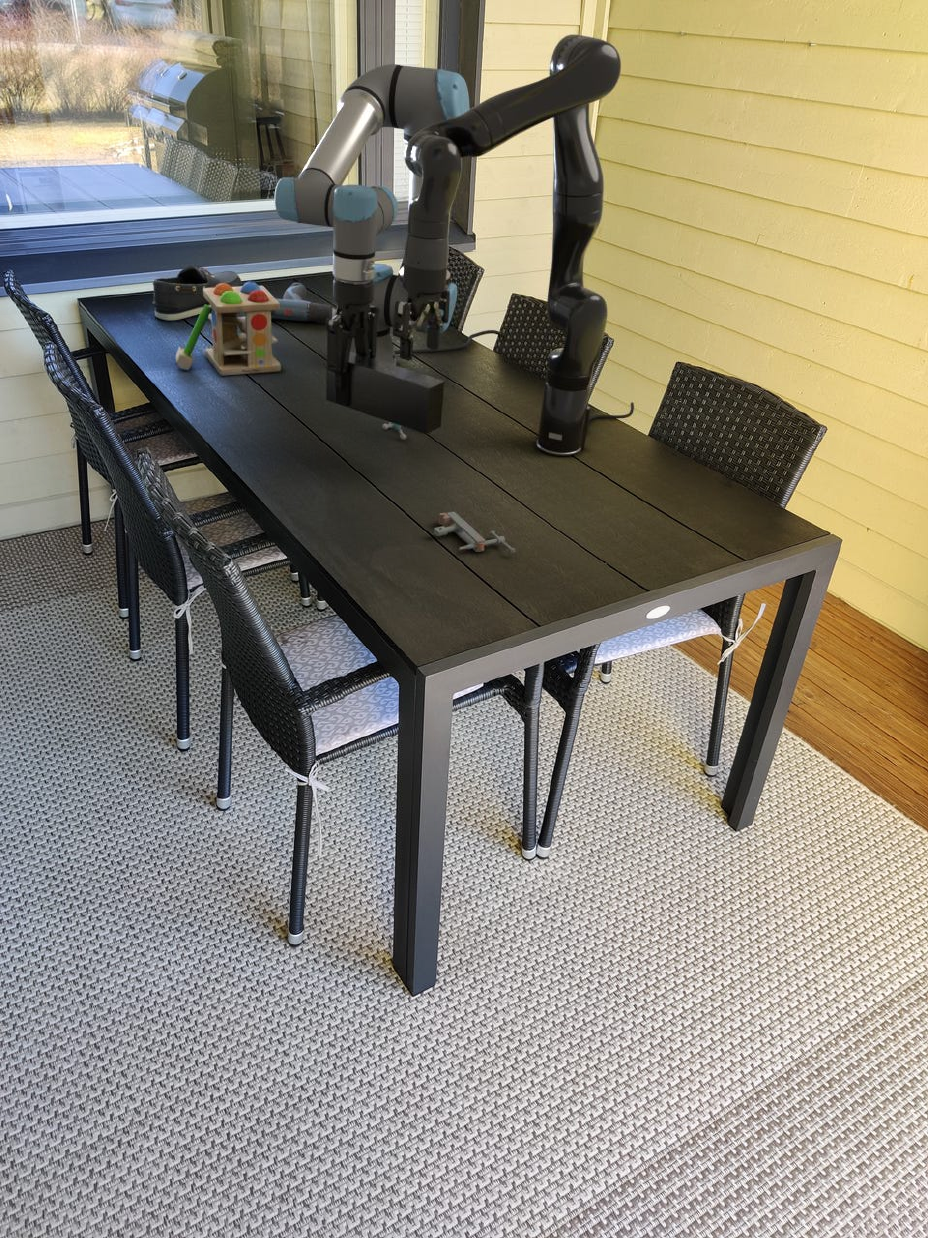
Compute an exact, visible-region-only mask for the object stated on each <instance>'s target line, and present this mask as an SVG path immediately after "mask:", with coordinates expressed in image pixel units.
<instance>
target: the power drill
mask: <svg viewBox="0 0 928 1238" xmlns="http://www.w3.org/2000/svg"><path fill="white" fill-rule="evenodd" d="M307 295H308V290H307V287H306V285H304V284H303V283H301V282H293V283H292V284H291V285H290V286H289V287H288V288H287V289H286V291H285V292H284V294H283V297H282V298H275V299H276V300H277V301H278V302H279V303H280V310H271V319H274V320H275V319H276V320H283V321H294V322H295V321H297V322H325V321H326V319H333V318H334V317H335V316H336V310H337V309H336V308H334V307H333V306H332V305H331V304H324V303H317V302H313V301H307V300H305V299H306V297H307Z"/></svg>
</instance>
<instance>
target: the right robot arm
mask: <svg viewBox="0 0 928 1238" xmlns="http://www.w3.org/2000/svg"><path fill="white" fill-rule="evenodd" d="M621 71H622V61H621V57H620V54H619V52H618V50H617V48H616V47H615V46H614V45H613V44H611V43H610V42H609V41H607V40H604V39H601V38H597V37H592V36H587V35H583V34H567V35H565V36H563V37H562V38H560V40H559V41H558V42H557V43H556V45H555V47H554V49H553V51H552V53H551V57H550V62H549V76H546V77H545V78H542V79H540V80H537V81H535V82H532V83H529V84H525V85H521V86H518V87H515V88H511V89H509V90H505V91H503V92H501V93H498V94H495V95H493V96H491V97H488V98H486V100H483V101H482V102H480V103H478V104H476V105H475V106H474V107H472V108H469V110H468V111H467V112H465V113H464V114H462V115H460V116H457V117H454V118H451V119H447V120H445V121H442V122H439V123H436V124H433V125H431V126H428V127H426V128H424V129H422V130H420V131H419V132H417V133H416V134H415V135H414V136H413V137H412V138H411V139H410V140H409V142H408V143H407V144H406V145H405V148H404V154H403V155H404V156H403V157H404V163H405V165H406V167H407V168H408V170H409V172H410V171H411V172H412V173H413V174H415V175H416V176H418V177H421V178H423V180H422V186H421V190H420V195H418V196H415V197H413V198H412V199H411V201H410V204H409V203H408V206H409V212H407V228H406V230H407V231H406V239H405V243H404V256H403V266H404V270H403V287H404V289H406V291H407V292H408V296H407V300H406V302H400V301H397V302H396V303H395V312H394V323H393V327H392V336H394V337H397V338H399V339H400V340H399V341H400V342H399V350H400V354H399V358H400V359H402V360H404V361H408V362H409V361H411V360H412V359H413V354H414V353H413V350H414V337H415V335H416V332H417V331H416V330H418V329H420V327H421V325H422V323H424V322H425V321H426V320H427V322H428V325H429V326H430V327H428V333H426V335H427V336H426V347H427V349H433V350H436V349H438V348H440V345H439V344H440V337H441V334H440V329H442V327H443V324H444V323H448V320H449V303H450V291H448V290H445V289H446V277H447V270H448V265H449V263H448V262H449V250H450V249H449V247H450V245H449V233H450V220H451V209H452V207H453V204H454V202H455V198H456V194H457V192H458V187H459V185H460V181H461V177H462V172H463V171H462V170H463V158H479V157H481V156H484V155H486V154H489V152H491V151H493V150H494V149H497V148H498V147H499V146H501V145H503V144H505V143H506V142H508V141H509V140H511V139H513V138H515V137H517V136H518V135H520V134H522V133H524V132H525V131H528V130H529V129H531V128H534V127H535V126H537V125H540V124H542V123H544V122H546V121H549V120H550V119H552V127H553V128H552V129H553V176H552V177H553V180H552V239H551V241H552V243H551V244H552V245H551V263H550V264H551V265H550V274H549V283H548V292H547V302H546V312H547V318H548V320H549V322H550V324H551V325H552V326H553V327H554V328H555V329H557V330H558V331H560V332H562V333H563V334H566V336H565V340H564V345H563V347H561V348H556V349H553V350H552V351H550V352H549V354H548V359H547V367H546V375H545V381H544V388H543V389H544V390H543V397H542V403H541V410H540V412H541V413H540V419H539V425H538V432H537V439H536V444H535V445H536V448H538V449H539V450H540V451H541V452H543V453H546V454H548V455H551V456H557V457H572V456H575V455H577V454H579V453H580V452H581V451H585V447H586V440H587V433H588V429H589V422H590V421H592V420H595V419H627V418H630V417H631V416H632V415H633V414H634V412H635V403H634V402H630V411H629V412H628V413H625V414H620V415H619V414H616V415H615V414H594V415H590V414H591V406H590V405H589V404H588V403H589V397H590V391H591V386H592V380H593V372H594V368H595V364H596V363H597V361H598V359H599V357H600V354H601V350H602V345H603V340H604V336H605V331H606V327H607V323H608V322H607V321H608V313H609V312H608V305H607V301H606V299H605V298H604V296H603V295H601V294H600V293H598V292H596V291H594V290H592V289H589V288H587V287H585V286H584V262H585V255H586V252H587V250H588V247H589V246H590V243H592V240H593V238H594V237H595V234H596V233H597V231H598V228H599V226H600V225H601V223H602V222H601V221H602V218H603V213H604V212H603V211H604V195H605V193H604V192H605V179H604V172H603V167H602V163H601V161H600V157H599V154H598V151H597V147H596V145H595V142H594V138H593V135H592V131H591V123H590V122H591V121H590V104H592V103H594V102H597V101H600V100H602V99H603V98H606V97H607V96H608V95H609V94H610V93H611V92H612V91H613V90H614V89H615V88H616V86H617V84H618V82H619V79H620V75H621V73H622V72H621ZM440 309H441V310H443V315H441V312H440ZM410 318H411V319H412V321H410V320H409V319H410ZM413 321H415V322H413ZM399 324H402V326H401V329H400V328H399ZM409 327H411V329H410V330H408V329H409Z"/></svg>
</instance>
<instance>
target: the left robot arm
mask: <svg viewBox="0 0 928 1238" xmlns="http://www.w3.org/2000/svg"><path fill="white" fill-rule="evenodd" d="M468 110H470V97H469V90H468V86H467V83H466V80H465V79H464V77H463V75H461V74H460V73H458V72H455V71H450V70H446V69H443V68H431V67H422V66H411V65H403V64H395V63H389V64H384V65H379V66H377V67H375V68H372V69H369V70H368V71H366V72H365V73H363V74H362V75H360V76H359V77H357V78H355V80H354V81H353V82H351V83H350V84H349V85H348V86H347V87H346V89H345V90H344V92H343V93H342V95H341V97H340V98H339V101H338V104H337V111H338V112H337V113H336V115H335V116H334V118H333V120H332V122H331V124H330V125H329V127H328V128H327V130H326V131H325V133H324V134H323V136H322V138H321V139H320V141H319V143H318V145H317V146H316V148H315V150H314V151H313V153H312V154H311V156H310V157H309V159H308V161H307V163H306V164H305V166H304V167H303V169H302V171H301V172H300V174H299V175H298V177H294V176H290V177H287V176H286V177H281V178H280V179H279V180H278V181H277V184H276V187H275V191H274V206H275V211H276V213H277V215H278V217H279V218H280V219H282V220H285V221H289V222H294V223H297V224H303V225H304V224H305V225H313V226H318V227H319V226H320V227H326V228H332V229H333V231H332V232H333V233H332V235H333V236H332V239H333V242H332V243H333V244H332V246H333V247H332V248H333V250H332V276H333V277H334V278H333V280H332V298H333V300H334V301H335V302H336V309H335V310H336V316H335V317H334V318H333V319H326V321H324V322H325V327H326V328H325V329H326V330H327V331H326V333H327V334H326V336H327V337H326V350H327V351H326V364H327V370H329V371H332V372H335V388H336V403H337V405H339V404H340V405H339V406H342V405H343V406H342V407H345V406H346V407H345V408H348V407H347V406H349V392H350V373H348V372H347V368H348V362H349V356H350V351H351V352H354V353H357V354H360V355H363V356H366V357H370V358H373V359H376V360H379V361H382V362H386V363H389V364H392V365H395V366H397V355H400V349H397V350H395V347H394V343H393V341H392V337H391V336H392V335H391V328H393V323H394V312H395V303H396V302H397V301H400V302H406V300H407V296H408V292H407V291H406V289H404V287H403V270H404V265H403V266H402V267H401V268H400V269H399V272H398V275H397V274H394V269H393V267H392V266H391V265H388V264H385V263H376V244H377V243H376V242H377V236H378V235H379V234H381V233H382V232H384V231H387V229H390V227H391V226H392V225H393V223H395V221H396V219H397V218H398V214H399V202H398V199H397V197H396V195H395V194H394V192H393V191H392V190H391V189H389V188H387V187H385V186H383V185H372V186H367V185H362V184H344V183H345V180H346V179H347V177H348V176H349V174H350V172H351V171H352V168H353V167H354V165H355V163H356V161H357V160H358V159H359V157H360V155H361V153H362V151H363V149H364V148H365V146H366V144H367V142H368V140H369V139H370V137H372V136H374V135H376V134H378V132H380V130H381V129H382V128H394V129H398V130H403V142H404V143H405V144H406V145H407V143H408V142H409V140H410V139H411V138H412V137H413V136H414V135H415V134H416V133H417V132H419V131H420V130H422V129H424V128H426V127H428V126H431V125H433V124H436V123H439V122H442V121H445V120H447V119H451V118H454V117H457V116H460V115H462V114H464V113H465V112H467V111H468ZM422 180H423V178H421V177H418V176H416V175H415V174H413V173H412V172H411V171H410V170H409V181H408V210H407V211H408V212H409V204H410V201H411V199H412V198H413V197H415V196H418V195H420V190H421V186H422ZM408 212H407V213H408ZM445 290H448V291H450V303H449V320H448V323H444V324H443V327H442V329H440V335H441V334H444V332H446V330H447V329H448V327H449V325H450V323H451V320H452V318H453V315H454V311H455V308H456V303H457V300H458V299H457V297H458V286H457V284H456V283H454V282H451V272H450V271H449V270H448V269H447V277H446V289H445ZM440 312H441V315H443V310H441V309H440ZM409 320H410V321H412V319H411V318H410V319H409ZM413 322H415V321H413ZM401 326H402V324H399V330H400V329H401ZM428 327H430V326H429V325H428V322H427V320H426V321H425V322H424V323H422V325H421V327H420V329H418V330H416V332H417V333H418V332H419V333H423V334H425V335H427V333H428ZM410 329H411V327H409V329H408V331H410ZM500 333H502V332H501V331H499V330H496V329H488V330H487V329H486V330H482V331H479V332H476V333H472V334H470V335H469V336H468V337H467V341H466V342H465V343H462V344H459V345H454V346H446V347H438V349H436V350H433V349H430V348H417V349H413V353H412V354H429V353H431V354H432V353H442V352H451V351H456V350H457V351H458V350H461V349H465V348H468V347H469V346H470V345H471V344H472V339H474V338H478V337H480V336H484V335H488V334H489V335H490V334H492V335H493V334H494V335H497V336H499V337H500ZM500 338H504V337H503V336H502V335H501V337H500ZM341 366H342V367H341ZM336 403H335V404H336Z"/></svg>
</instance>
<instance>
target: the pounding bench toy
mask: <svg viewBox="0 0 928 1238" xmlns="http://www.w3.org/2000/svg"><path fill="white" fill-rule="evenodd" d="M203 296H204V297H205V299H206V300H207V301H208V302H209V304H210V305H211V307H210V306H208V305H204V307H203V309H202V311H201V313H200V314H199V316H198V318H197V320H196V322H195V324H194V327H193V329H192V331H191V332H190V333H191V334H190V336H189V338H188V340H187V343H186V344H185V347H184V348H182V347H180V346H179V347H178V349H177V351H176V354H175V357H174V358H175V362H176V365H177V366H178V368H179V369H182V370H185V371H189V370H190V369H191V367H192V365H193V363H194V356H193V351H194V348H195V347H196V345H197V342H198V340H199V337H200V336H201V333H202V332H203V329H204V326H205V325H206V322H207V320H209V321H210V322H211V336H212V337H211V338H212V339H211V340H212V348H205V349H204V352H205V353H204V355H205V357H206V359H208V361H209V363H210V364H211V365H212V366H213V367H214V369H215V370H216V371H217V372H218V374H219V375H220V376H222V377H223V376H234V375H235V376H236V375H246V374H247V375H250V374H262V373H275V372H281V370H282V364H281V363H280V362H279V360H278V359H277V358H276V357H275V356H274V355H273V348H272V347H273V345H272V344H276V343H278V342H279V341H278V339H277V338H276V337H275V336H274V334H272V318H271V310H280V303H279V302H278V301H277V300H276V299H277V298H276V297H274V296H273V295H272V294H271V293H270V292H269V290H268V289H267V288H266V287H264V285H259V284H257V283H256V282H255V281H247V282H245V283H244V284H242V287H231V286H230V285H228V284H226V283H221V284H218V285H217V286H216V287H215V288H204V289H203ZM238 313H244V314H245V315H244V316H238ZM238 329H239V331H240V333H239V334H238Z"/></svg>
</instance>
